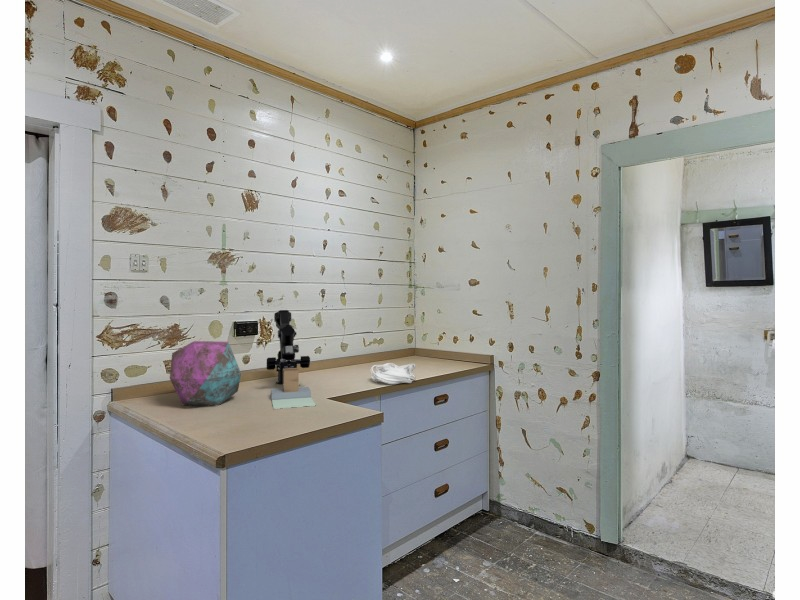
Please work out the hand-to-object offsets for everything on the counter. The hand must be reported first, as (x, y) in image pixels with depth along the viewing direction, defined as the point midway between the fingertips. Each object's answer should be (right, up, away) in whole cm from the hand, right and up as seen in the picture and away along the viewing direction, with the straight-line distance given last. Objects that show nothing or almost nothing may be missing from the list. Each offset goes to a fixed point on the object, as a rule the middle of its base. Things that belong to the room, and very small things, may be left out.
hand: (289, 378), depth 208 cm
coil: (+44, -7, +31) cm, 54 cm away
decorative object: (-31, -8, -14) cm, 35 cm away
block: (+2, -4, -5) cm, 7 cm away
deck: (+1, -7, -4) cm, 8 cm away
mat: (+5, -8, -15) cm, 18 cm away
